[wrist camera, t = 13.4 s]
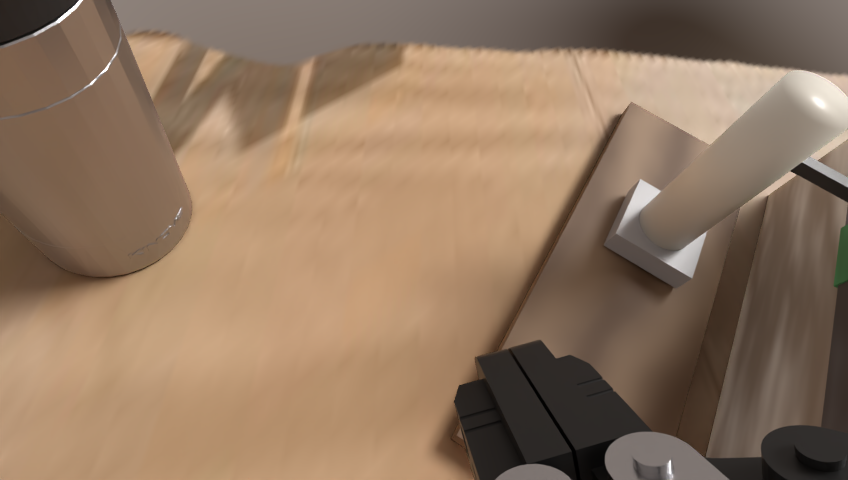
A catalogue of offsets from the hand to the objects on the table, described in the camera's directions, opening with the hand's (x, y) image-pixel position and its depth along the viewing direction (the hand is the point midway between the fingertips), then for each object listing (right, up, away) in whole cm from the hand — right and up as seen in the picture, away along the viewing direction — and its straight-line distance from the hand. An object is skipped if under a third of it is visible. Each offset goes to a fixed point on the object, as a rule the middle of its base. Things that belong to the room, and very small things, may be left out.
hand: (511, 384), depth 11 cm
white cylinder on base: (+17, +2, +27) cm, 32 cm away
